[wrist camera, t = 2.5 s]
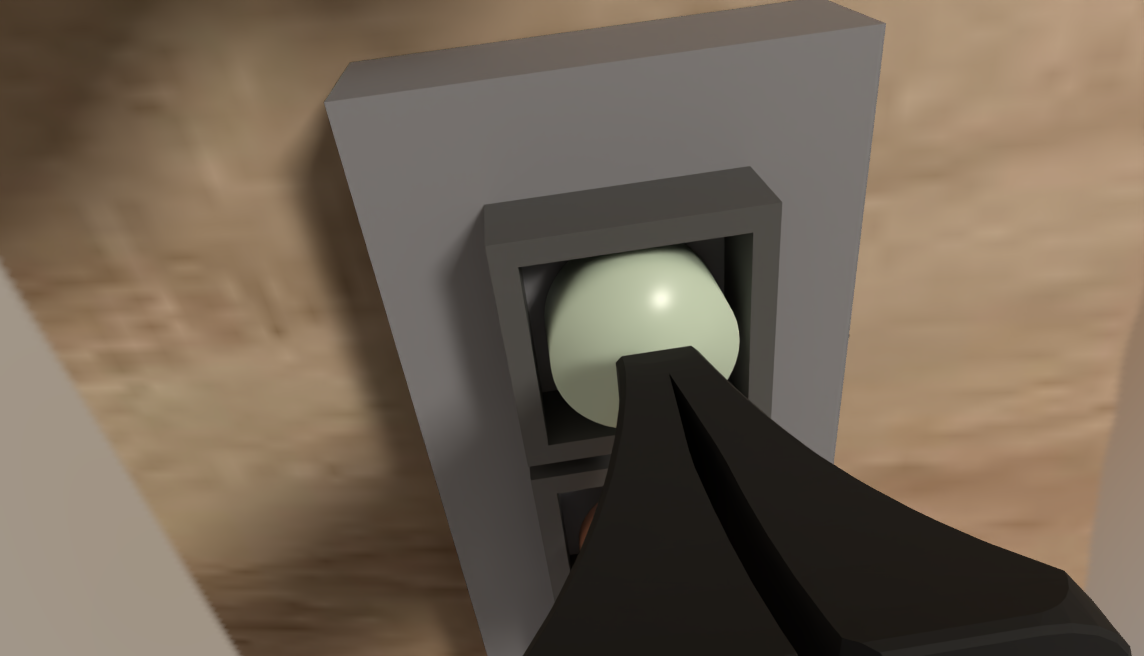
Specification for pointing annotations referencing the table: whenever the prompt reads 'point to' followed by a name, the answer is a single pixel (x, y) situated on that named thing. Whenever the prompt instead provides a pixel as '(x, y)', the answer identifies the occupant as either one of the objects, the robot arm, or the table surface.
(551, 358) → the sage button
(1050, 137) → the table surface
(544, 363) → the charcoal button panel
